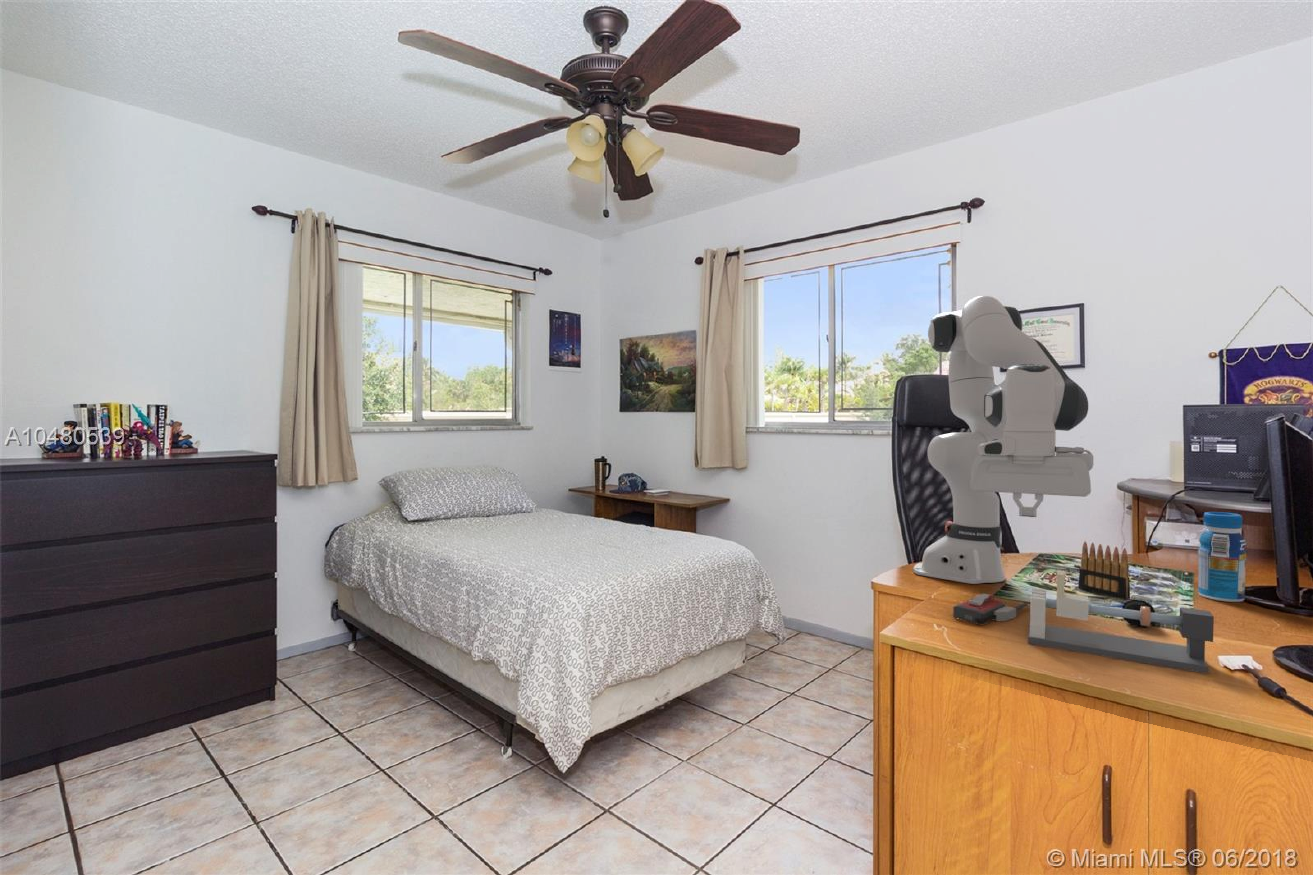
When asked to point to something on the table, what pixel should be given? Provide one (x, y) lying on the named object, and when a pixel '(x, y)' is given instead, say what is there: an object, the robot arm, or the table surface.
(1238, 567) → the blue supplement bottle
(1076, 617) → the grey l-shaped bracket
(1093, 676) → the table surface
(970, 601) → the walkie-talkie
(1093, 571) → the ammunition clip
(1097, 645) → the cord rig
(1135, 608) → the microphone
